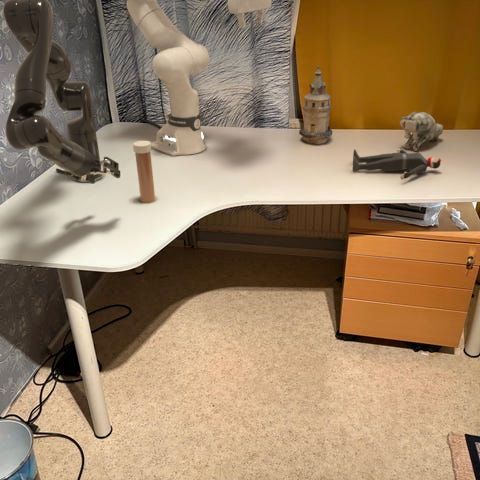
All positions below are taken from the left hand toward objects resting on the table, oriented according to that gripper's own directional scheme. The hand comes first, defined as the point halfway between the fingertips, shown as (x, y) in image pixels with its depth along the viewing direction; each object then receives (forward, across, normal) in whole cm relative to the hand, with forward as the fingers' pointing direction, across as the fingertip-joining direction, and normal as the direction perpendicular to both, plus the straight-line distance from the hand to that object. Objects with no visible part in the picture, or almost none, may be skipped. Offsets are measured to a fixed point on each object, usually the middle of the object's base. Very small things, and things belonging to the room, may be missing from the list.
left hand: (106, 177), depth 156 cm
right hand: (+19, -43, -51) cm, 69 cm away
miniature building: (+77, -51, -33) cm, 98 cm away
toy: (+62, -80, -8) cm, 101 cm away
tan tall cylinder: (+19, -3, +2) cm, 20 cm away
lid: (+7, -8, -12) cm, 16 cm away
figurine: (+84, -90, -25) cm, 126 cm away
